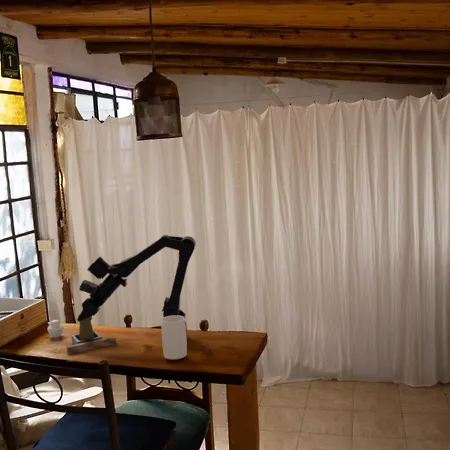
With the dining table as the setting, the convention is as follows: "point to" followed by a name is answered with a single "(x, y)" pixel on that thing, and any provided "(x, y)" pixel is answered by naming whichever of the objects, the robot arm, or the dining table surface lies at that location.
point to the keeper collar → (76, 339)
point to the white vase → (55, 328)
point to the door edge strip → (91, 345)
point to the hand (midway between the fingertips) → (81, 317)
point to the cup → (174, 337)
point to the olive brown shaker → (86, 329)
